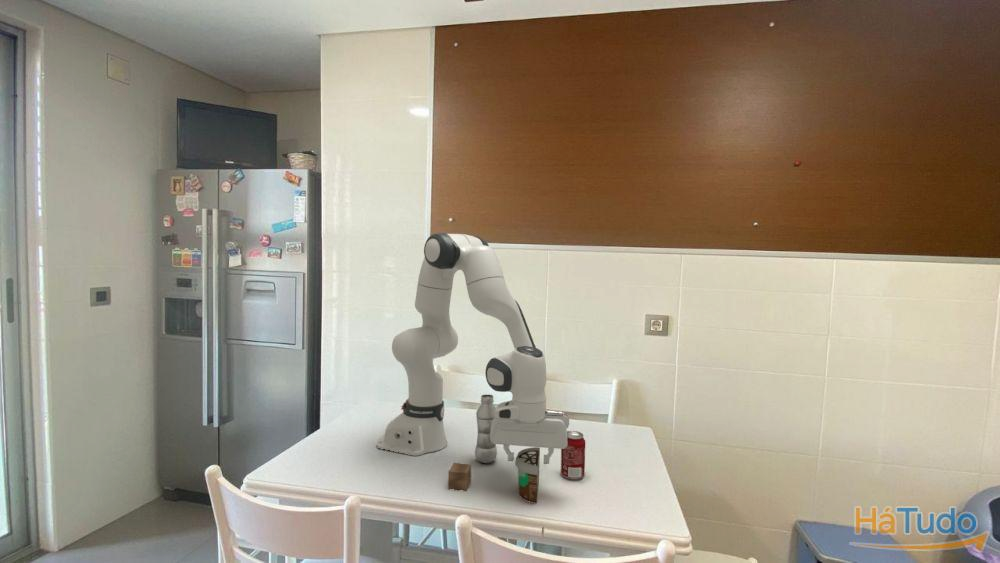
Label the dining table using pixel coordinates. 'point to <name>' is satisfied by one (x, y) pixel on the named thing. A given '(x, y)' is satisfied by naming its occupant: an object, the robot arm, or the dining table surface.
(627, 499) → the dining table surface
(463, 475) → the walnut block
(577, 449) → the soda can
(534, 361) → the robot arm
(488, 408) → the plastic bottle
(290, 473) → the dining table surface
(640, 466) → the dining table surface
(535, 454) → the food container
